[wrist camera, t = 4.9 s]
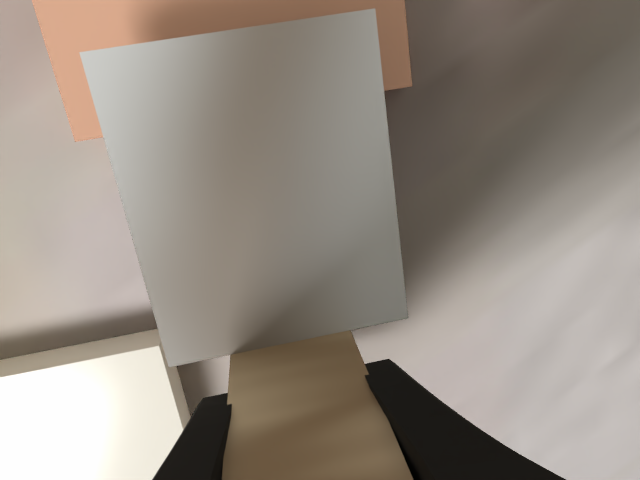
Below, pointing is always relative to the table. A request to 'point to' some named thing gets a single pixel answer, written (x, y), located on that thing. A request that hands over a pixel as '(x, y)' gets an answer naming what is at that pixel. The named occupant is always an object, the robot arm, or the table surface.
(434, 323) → the table surface
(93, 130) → the tile
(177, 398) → the trivet
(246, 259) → the grey plate tan block
